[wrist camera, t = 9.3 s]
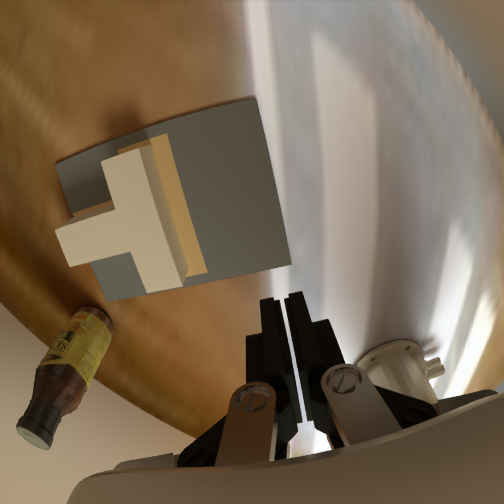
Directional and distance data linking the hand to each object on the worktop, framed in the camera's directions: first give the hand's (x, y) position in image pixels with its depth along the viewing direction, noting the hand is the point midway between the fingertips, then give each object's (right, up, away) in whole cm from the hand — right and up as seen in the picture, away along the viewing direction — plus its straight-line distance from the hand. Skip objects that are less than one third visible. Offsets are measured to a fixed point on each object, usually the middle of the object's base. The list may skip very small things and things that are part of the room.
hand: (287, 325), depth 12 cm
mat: (-10, +7, +20) cm, 23 cm away
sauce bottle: (-23, -7, +26) cm, 35 cm away
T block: (-16, +6, +20) cm, 26 cm away
